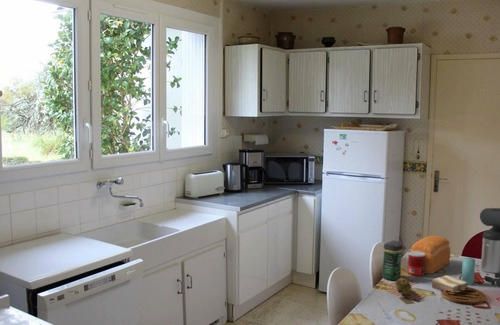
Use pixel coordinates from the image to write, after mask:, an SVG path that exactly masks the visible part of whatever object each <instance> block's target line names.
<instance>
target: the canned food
mask: <svg viewBox="0 0 500 325" xmlns="http://www.w3.org/2000/svg"><path fill="white" fill-rule="evenodd" d="M407 260H408V261H407V273H408V275H409V276H412V277H423V276H424V275H425V273H424V268H425V254H424V253H422V252H417V251H411V250H410V251H409V252H408V259H407Z"/></svg>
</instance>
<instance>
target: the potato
mask: <svg viewBox="0 0 500 325" xmlns="http://www.w3.org/2000/svg"><path fill="white" fill-rule="evenodd" d="M394 285H395V288H396V290H397V292H398V293H399V294H402V295H407V296H408V295H410V294H411V293H412V290H413V288H412V284H411V283H410V281H409V280H407V279H405V278H401V277H400V278H399V279H397V280H395V282H394Z"/></svg>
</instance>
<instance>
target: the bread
mask: <svg viewBox="0 0 500 325" xmlns="http://www.w3.org/2000/svg"><path fill="white" fill-rule="evenodd" d="M411 251H417V252H422V253H424V254H425V268H424V274H429V275H430V274H434V273H435V272H437V271H439V270H441V269H442V268H443V267H446V266H447V265H449V264H450V259H451V257H450V256H451V247H450V241H449V240H448V239H447V238H446V237H444V236H440V235H439V236H438V235H429V236H426V237H423V238H421V239H419V240H418V241H415V243H413V245H411V250H410V252H411Z"/></svg>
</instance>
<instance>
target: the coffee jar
mask: <svg viewBox="0 0 500 325" xmlns="http://www.w3.org/2000/svg"><path fill="white" fill-rule="evenodd" d="M402 251H403V244H402V243H401V241H398V240H393V239H392V240H391V241H387V242H385V243H384V244H383V260H382V261H383V262H382V270H381V271H382V272H381V274H382V275H381V278H383V279H385V280H387V281H397V280H398V279H401V273H402V272H401V270H402V268H401V264H402Z"/></svg>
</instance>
